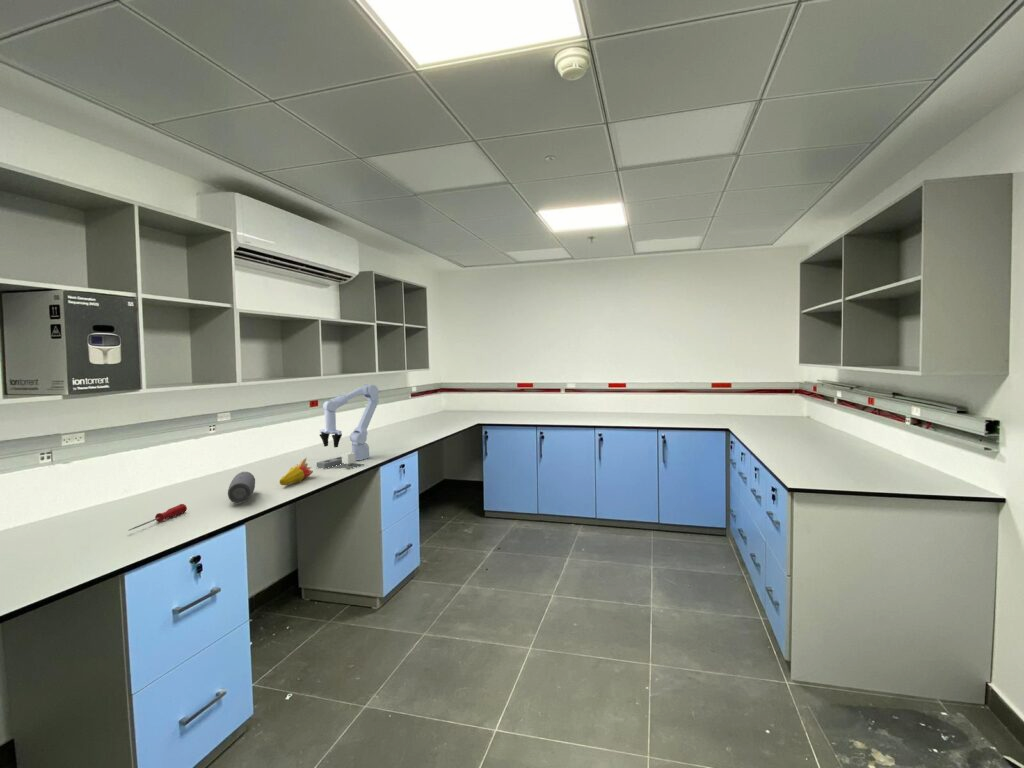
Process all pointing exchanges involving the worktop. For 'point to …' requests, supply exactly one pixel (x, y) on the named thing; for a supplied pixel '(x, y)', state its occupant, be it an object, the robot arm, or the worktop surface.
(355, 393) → the robot arm
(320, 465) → the power strip
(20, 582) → the worktop surface
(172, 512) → the screwdriver
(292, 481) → the torch
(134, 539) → the worktop surface
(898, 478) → the worktop surface
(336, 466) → the mat
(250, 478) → the bluetooth speaker
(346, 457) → the block
